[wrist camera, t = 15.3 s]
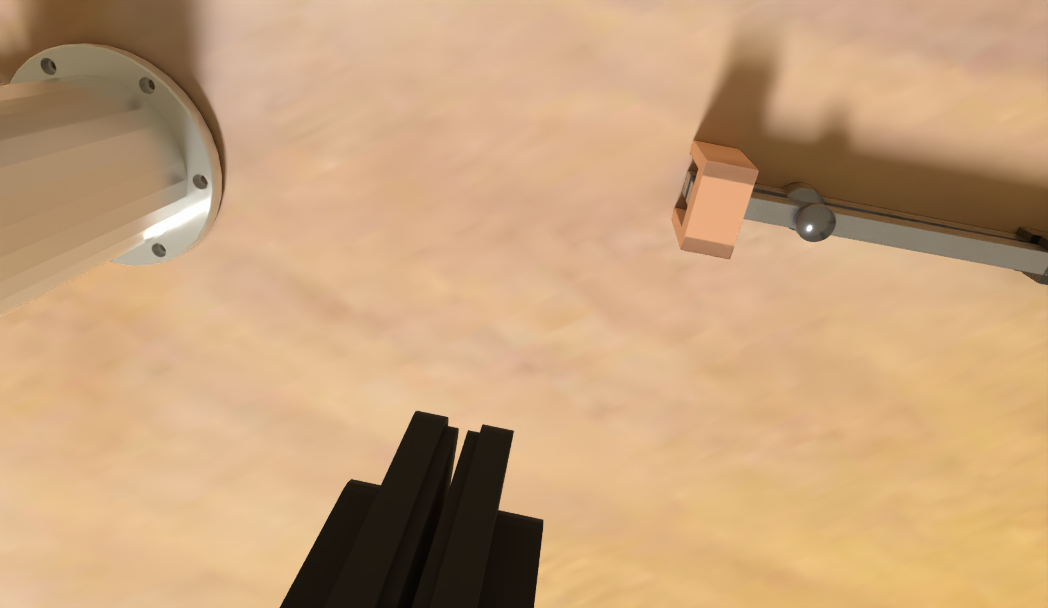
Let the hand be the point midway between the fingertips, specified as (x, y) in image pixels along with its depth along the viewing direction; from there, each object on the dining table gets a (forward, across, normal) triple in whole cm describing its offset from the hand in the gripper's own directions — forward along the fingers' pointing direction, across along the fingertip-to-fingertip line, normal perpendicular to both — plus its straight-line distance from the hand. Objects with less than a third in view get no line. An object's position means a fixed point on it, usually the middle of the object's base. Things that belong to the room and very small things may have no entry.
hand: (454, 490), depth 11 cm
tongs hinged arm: (+25, -18, 0) cm, 31 cm away
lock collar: (+27, -8, 0) cm, 28 cm away
